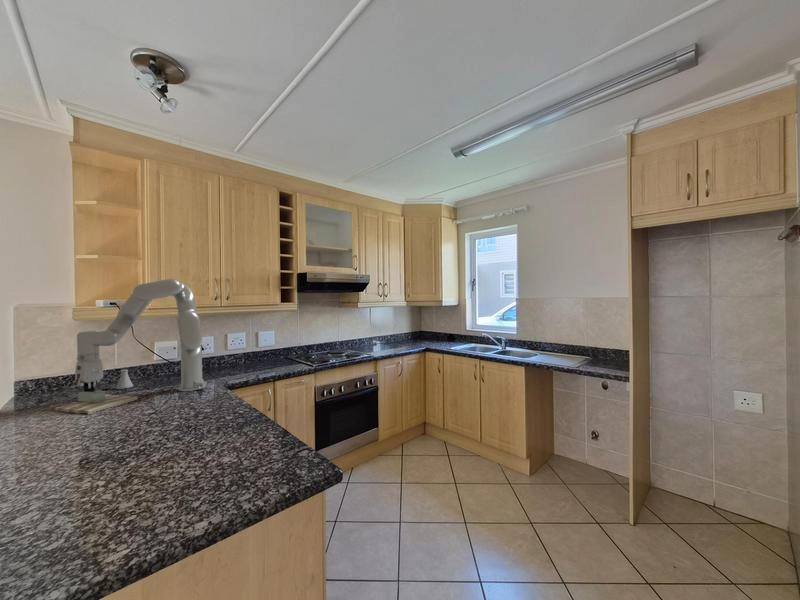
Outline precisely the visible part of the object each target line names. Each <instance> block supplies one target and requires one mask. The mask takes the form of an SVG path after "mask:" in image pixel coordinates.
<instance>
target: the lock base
mask: <svg viewBox="0 0 800 600" xmlns="http://www.w3.org/2000/svg"><path fill="white" fill-rule="evenodd" d="M105 399H106V400H105V401H102V402H97V403H91V402H78V401H77V402H74V403H73V402H72V403H69V404H64V405H62V406H57V407H55V412H59V411H69V412H78V413H77V414H80V413H88V414H87V415H90V414H89V413H92V412H95V413H97V412H96V411H98V412H100V411H99V410H102V411H104V410H103V409H105V410H107V409H106V408H109V409H111V408H110V407H112V408H114V407H113V406H115V407H118V406H117V405H119V406H121V404H122V405H125V404H129V403H131V401H132V402H135V401H134V400H136V401H138V399H139V398H138V396H130V395H116V394H105ZM128 402H129V403H128ZM124 403H125V404H124ZM69 412H68V413H69ZM92 414H93V413H92Z"/></svg>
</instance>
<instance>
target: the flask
mask: <svg viewBox="0 0 800 600" xmlns="http://www.w3.org/2000/svg"><path fill="white" fill-rule="evenodd" d="M128 371H129V369H127V368H125V369H121V370H120V378H119V380H118V383H117V385H116V387H115V389H116V390H124V389H125V388H126V389H130V388H132V387H134V384H133V383H132V380H131V379H130V376H129V374H128Z"/></svg>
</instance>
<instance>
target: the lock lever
mask: <svg viewBox="0 0 800 600" xmlns="http://www.w3.org/2000/svg"><path fill="white" fill-rule="evenodd" d="M105 395H106V390H102V389H96V390H94V392H84V391H78V392H77V402H91V403H97V402H102V401H105V400H106V399H105Z"/></svg>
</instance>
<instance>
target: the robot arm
mask: <svg viewBox="0 0 800 600" xmlns="http://www.w3.org/2000/svg"><path fill="white" fill-rule="evenodd" d="M171 296H172V297H173V298H174V299H175V302H176V307H177V327H178V334H179V343H180V372H181V373H180V376H181V381H180V383H181V386H178V388H177V390H178V391H179V392H192V391H197V390H203V389H204V388H206V385H207V384H208V382H207V381H205V380H204V378H203V357H202V356H203V355H202V354H203V353H202V352H203V351H202V350H203V349H202V342H203V335H202V330H201V322H200V317H199V314H198V311H197V305H196V304H197V303H196V299H195V294H194V292H193V291H192V289H191V288H190V287H189V286H188V285H187V284H186V283H185V284H184V283H182V282H181V281H179V280H177V279H175V278H166V279H162V280H156V281H152V282H145V283H141V284H138V285H136V286H135V287H134V288H133V290H132V293H131V295H129V297H128V299H127V300H126V301H125V302H123V304H122V305H121V306H120V307H119V309H118V312H117V315H116V317H115V318H114V320H113V321H112V323H110V325H109V326H108V327H107V329H105V330H103V331H96V330H95V331H94V330H91V331H90V330H87V331H79V332H78V333H77V335H76V350H77V352H76V355H77V357H76V360H77V362H76V364H75V365H76V366H75V371H74V373H75V374H74V379H75V383H76V387H81V388H82V389H84V391H83V392H95V387H96V386H97V383H98V382H101V380H102V379H103V378H104V367H103V366H104V365H103V362H102V360H101V358H100V347H111V346H113V345H115V344H117V343H119V342H120V341H121V340H122V338H123V337H124V336H125V335H126V334H127V332H128V331H129V330H130V328H132V326H133V325H134V323H136V321H137V320H138V319H139V318H140V316H142V314H143V312H144V311H145V310H146V308H147V307H148V306H149V305H150V304H151V302H152V301H153V300H157V299H161V298H165V297H171Z"/></svg>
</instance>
